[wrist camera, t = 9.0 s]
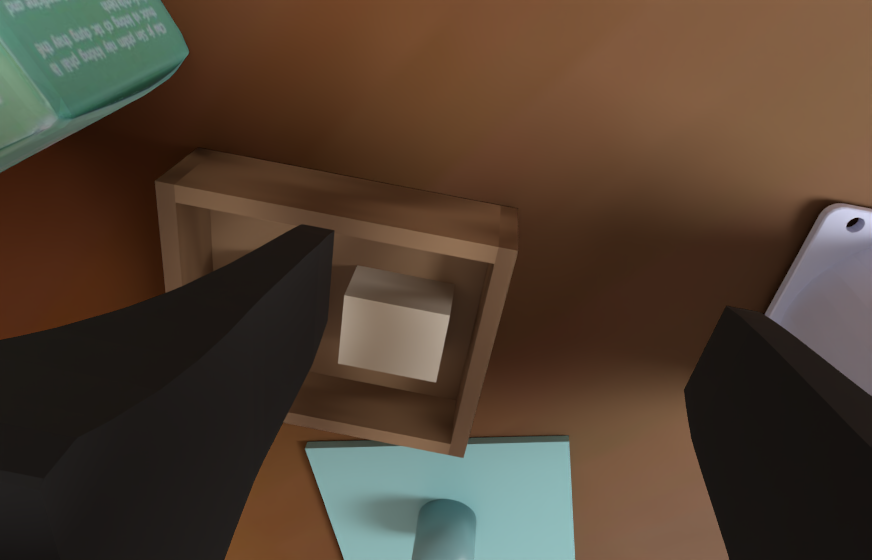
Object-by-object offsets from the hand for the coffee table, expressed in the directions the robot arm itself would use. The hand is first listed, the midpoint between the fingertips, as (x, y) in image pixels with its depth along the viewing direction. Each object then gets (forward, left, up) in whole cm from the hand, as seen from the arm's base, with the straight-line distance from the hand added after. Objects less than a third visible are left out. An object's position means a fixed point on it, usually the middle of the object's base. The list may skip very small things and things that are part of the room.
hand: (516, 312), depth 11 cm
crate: (+5, +7, -10) cm, 13 cm away
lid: (-1, +19, -10) cm, 22 cm away
